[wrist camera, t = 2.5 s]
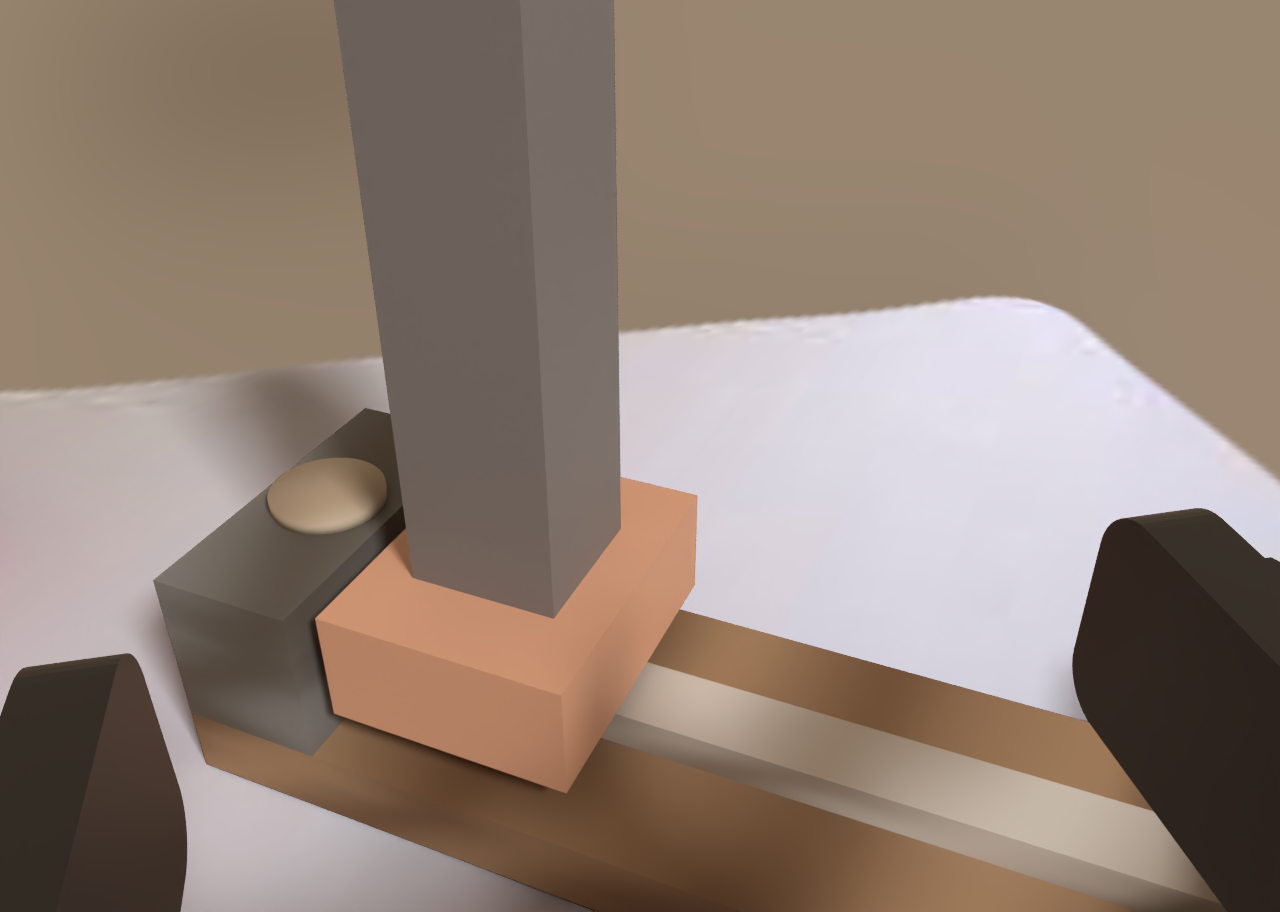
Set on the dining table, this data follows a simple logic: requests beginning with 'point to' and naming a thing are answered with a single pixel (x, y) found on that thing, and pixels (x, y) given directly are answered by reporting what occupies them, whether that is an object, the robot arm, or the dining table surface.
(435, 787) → the rail
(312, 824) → the dining table surface
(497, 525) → the carriage
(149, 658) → the dining table surface
